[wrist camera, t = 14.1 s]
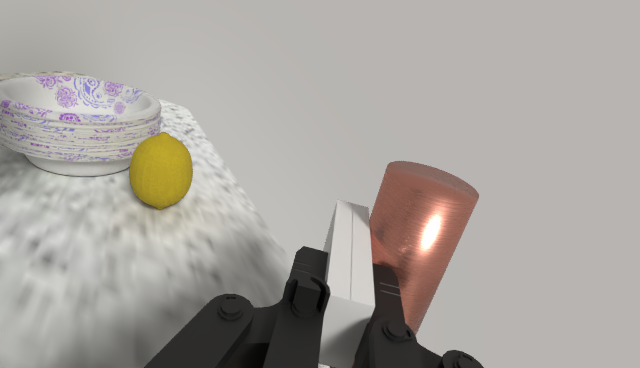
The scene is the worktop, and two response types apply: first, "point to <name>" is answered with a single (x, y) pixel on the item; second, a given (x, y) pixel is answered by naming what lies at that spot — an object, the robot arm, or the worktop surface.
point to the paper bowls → (76, 123)
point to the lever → (418, 230)
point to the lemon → (161, 170)
